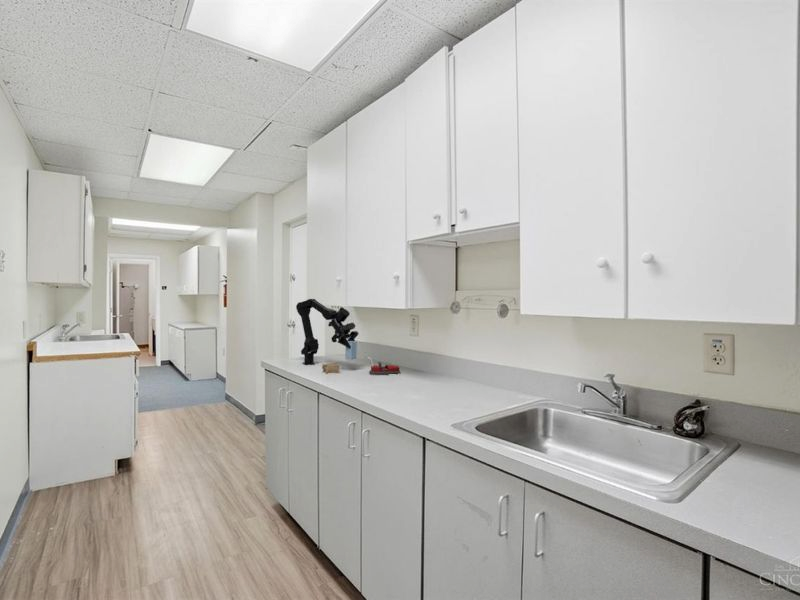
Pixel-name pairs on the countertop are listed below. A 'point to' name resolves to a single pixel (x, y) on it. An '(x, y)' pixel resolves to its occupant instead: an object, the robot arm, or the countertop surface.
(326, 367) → the slab top
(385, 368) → the bumper car
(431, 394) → the countertop surface
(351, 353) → the pillar
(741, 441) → the countertop surface
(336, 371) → the slab bottom
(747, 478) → the countertop surface
